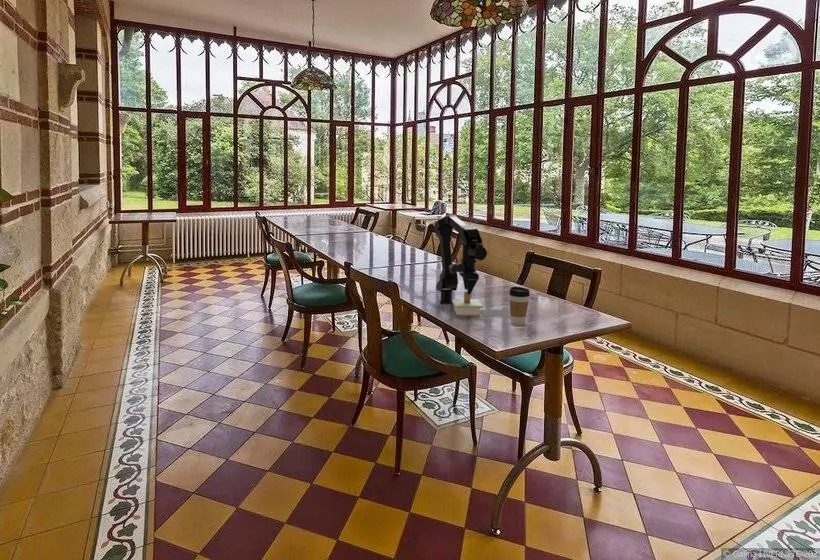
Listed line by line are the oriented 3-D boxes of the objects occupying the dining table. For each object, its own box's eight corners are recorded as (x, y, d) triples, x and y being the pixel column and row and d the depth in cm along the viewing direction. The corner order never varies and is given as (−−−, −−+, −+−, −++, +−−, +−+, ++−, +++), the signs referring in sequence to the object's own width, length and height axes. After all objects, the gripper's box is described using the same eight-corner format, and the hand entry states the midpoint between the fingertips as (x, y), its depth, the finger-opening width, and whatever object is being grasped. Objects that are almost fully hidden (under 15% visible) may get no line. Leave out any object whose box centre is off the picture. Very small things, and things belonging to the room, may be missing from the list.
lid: (451, 301, 242) (452, 289, 241) (478, 301, 243) (478, 289, 242) (455, 308, 230) (455, 295, 229) (482, 308, 231) (483, 295, 230)
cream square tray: (454, 310, 242) (454, 301, 241) (475, 310, 242) (476, 301, 242) (457, 316, 232) (457, 307, 231) (479, 316, 233) (480, 307, 232)
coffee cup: (515, 319, 228) (516, 285, 225) (532, 323, 223) (534, 288, 219) (503, 323, 223) (505, 288, 220) (520, 327, 217) (522, 291, 214)
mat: (478, 310, 242) (478, 309, 242) (504, 310, 243) (504, 309, 243) (482, 317, 231) (482, 316, 231) (510, 317, 231) (510, 316, 231)
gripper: (447, 253, 241) (447, 287, 244) (453, 260, 222) (452, 296, 226) (472, 253, 241) (471, 287, 244) (479, 260, 223) (478, 296, 226)
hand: (467, 291), depth 235 cm, fingers open, 9 cm apart
